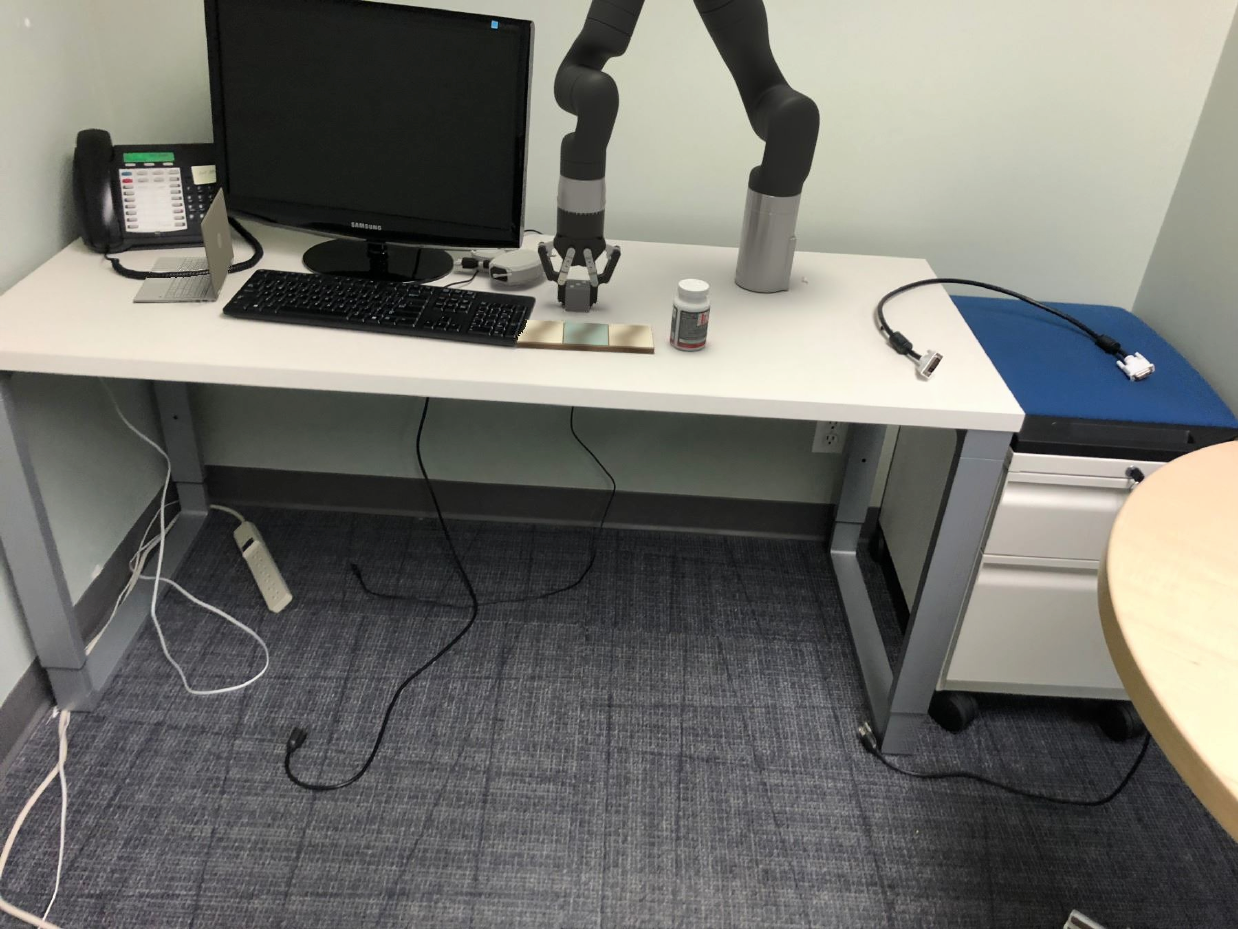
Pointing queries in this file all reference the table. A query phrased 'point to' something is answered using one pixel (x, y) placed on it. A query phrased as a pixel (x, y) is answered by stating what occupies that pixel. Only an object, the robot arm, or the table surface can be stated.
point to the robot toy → (505, 264)
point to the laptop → (195, 264)
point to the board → (587, 337)
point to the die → (577, 295)
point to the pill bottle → (690, 315)
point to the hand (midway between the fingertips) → (577, 303)
